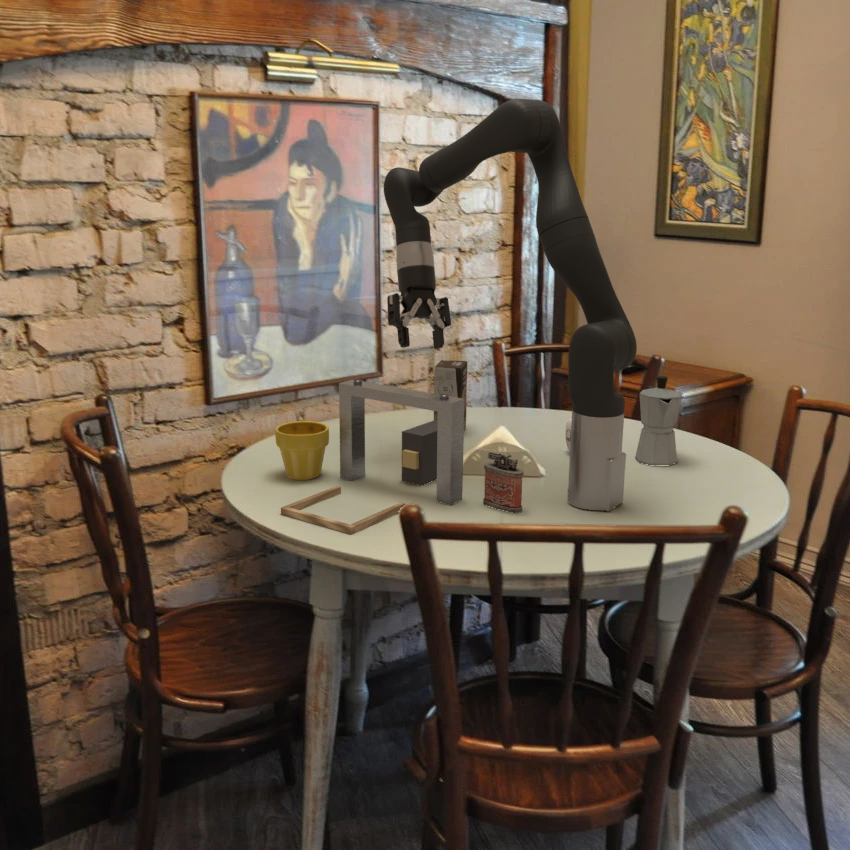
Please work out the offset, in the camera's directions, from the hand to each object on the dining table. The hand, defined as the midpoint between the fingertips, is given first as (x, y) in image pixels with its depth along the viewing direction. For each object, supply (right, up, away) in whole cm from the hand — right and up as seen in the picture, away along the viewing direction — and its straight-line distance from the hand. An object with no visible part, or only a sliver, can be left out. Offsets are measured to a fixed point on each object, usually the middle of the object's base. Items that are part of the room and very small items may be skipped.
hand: (422, 347), depth 196 cm
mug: (+35, -22, +12) cm, 43 cm away
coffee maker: (+49, -23, +11) cm, 55 cm away
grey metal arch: (-4, -28, -10) cm, 29 cm away
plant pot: (-23, -26, -2) cm, 35 cm away
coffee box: (+6, -17, +29) cm, 35 cm away
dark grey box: (+2, -26, -2) cm, 26 cm away
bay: (-14, -31, -22) cm, 40 cm away
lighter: (+15, -30, -19) cm, 39 cm away
